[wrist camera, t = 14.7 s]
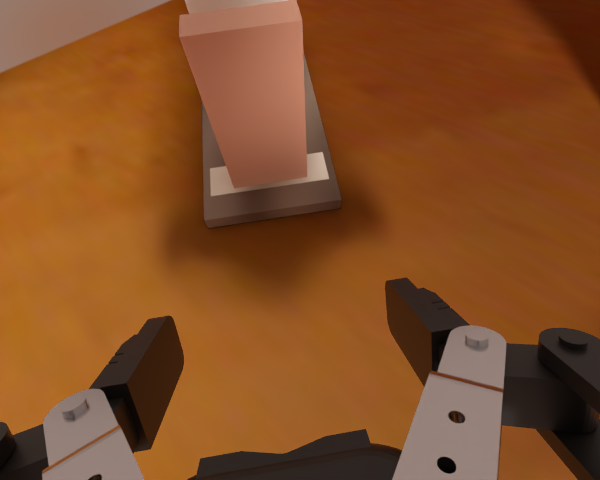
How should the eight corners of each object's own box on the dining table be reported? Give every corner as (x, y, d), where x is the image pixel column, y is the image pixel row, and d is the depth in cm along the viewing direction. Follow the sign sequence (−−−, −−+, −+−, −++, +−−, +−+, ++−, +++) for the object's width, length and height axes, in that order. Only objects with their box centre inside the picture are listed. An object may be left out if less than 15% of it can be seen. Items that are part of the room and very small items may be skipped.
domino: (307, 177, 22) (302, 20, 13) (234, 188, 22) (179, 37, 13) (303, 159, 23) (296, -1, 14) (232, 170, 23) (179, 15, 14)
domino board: (208, 228, 22) (203, 219, 21) (203, 34, 32) (200, 23, 31) (340, 207, 22) (342, 199, 21) (293, 22, 33) (293, 11, 32)
